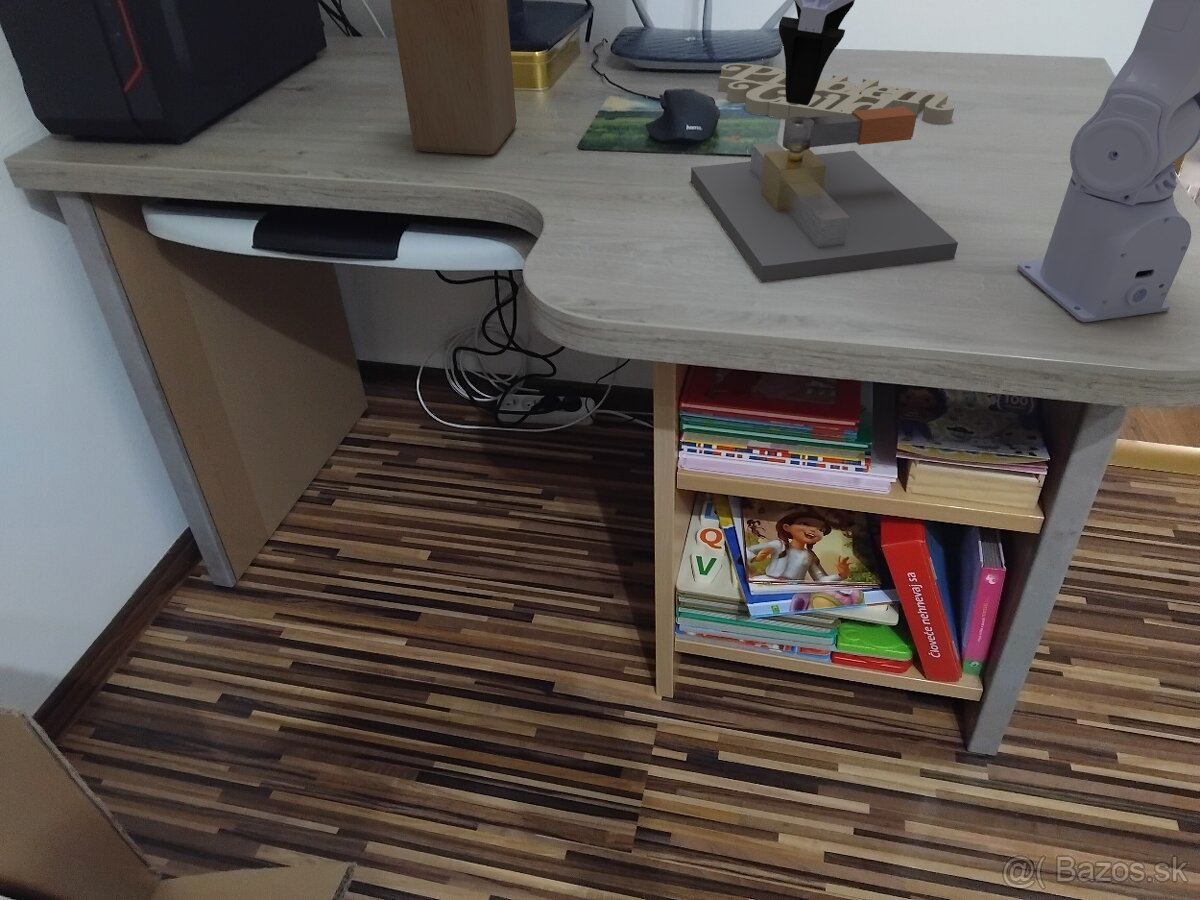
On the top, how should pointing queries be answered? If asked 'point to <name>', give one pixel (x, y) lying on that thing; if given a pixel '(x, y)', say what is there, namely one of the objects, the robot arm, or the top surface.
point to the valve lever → (849, 128)
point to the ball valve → (800, 192)
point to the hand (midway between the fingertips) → (803, 87)
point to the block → (456, 73)
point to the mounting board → (782, 250)
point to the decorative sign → (824, 95)
